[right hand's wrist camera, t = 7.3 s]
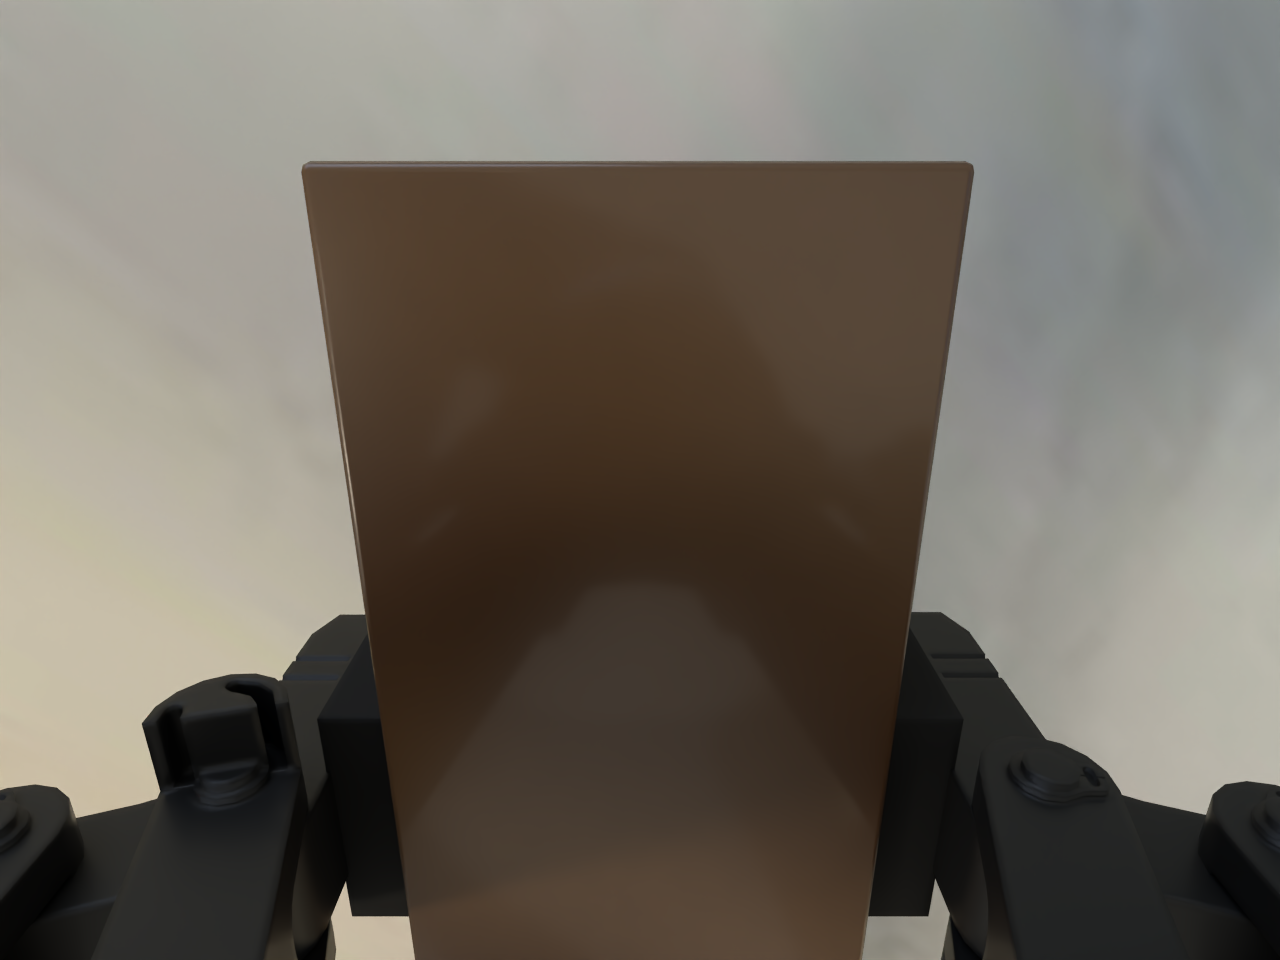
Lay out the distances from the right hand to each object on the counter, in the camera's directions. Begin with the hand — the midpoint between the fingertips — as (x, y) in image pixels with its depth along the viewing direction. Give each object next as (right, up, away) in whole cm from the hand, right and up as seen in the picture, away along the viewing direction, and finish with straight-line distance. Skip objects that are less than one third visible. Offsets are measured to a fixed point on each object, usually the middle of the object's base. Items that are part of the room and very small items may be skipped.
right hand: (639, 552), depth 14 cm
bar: (0, -22, +9) cm, 24 cm away
